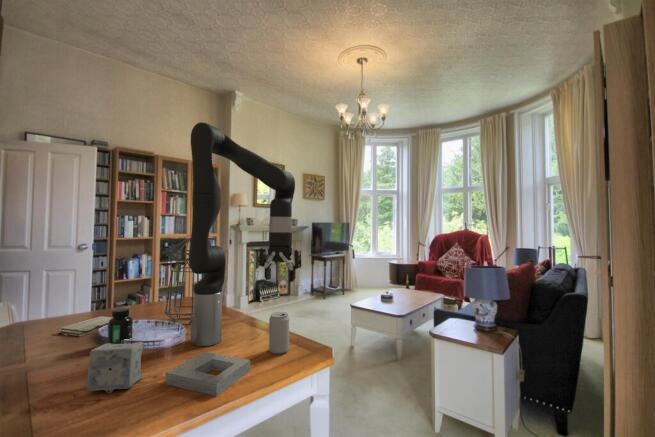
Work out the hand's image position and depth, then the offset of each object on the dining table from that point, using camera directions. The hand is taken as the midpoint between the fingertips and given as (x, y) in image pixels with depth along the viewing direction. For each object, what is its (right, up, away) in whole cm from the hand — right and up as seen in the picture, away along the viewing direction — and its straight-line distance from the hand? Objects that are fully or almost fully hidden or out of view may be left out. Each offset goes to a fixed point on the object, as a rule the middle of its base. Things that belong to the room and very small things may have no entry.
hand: (279, 280), depth 103 cm
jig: (-16, -22, -18) cm, 33 cm away
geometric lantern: (-43, -23, +29) cm, 56 cm away
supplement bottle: (-54, -23, +3) cm, 58 cm away
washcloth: (-76, -23, +20) cm, 82 cm away
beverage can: (0, -23, 0) cm, 23 cm away
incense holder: (-38, -23, -23) cm, 50 cm away
